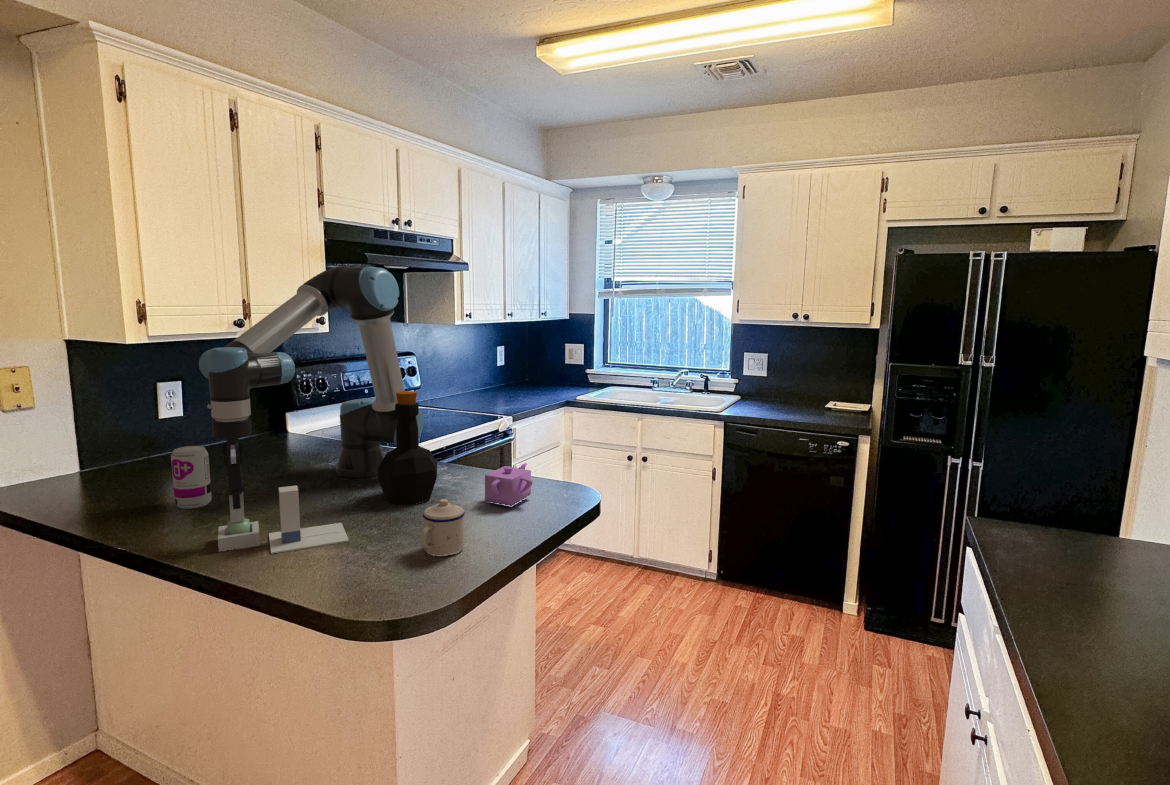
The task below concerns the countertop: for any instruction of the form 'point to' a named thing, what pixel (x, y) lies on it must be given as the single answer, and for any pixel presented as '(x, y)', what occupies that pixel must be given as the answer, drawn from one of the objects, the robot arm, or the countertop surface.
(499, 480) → the teapot
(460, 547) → the teacup with lid
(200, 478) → the supplement can
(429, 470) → the bottle
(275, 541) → the slotted base plate
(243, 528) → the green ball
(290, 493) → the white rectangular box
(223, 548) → the housing
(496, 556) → the countertop surface
